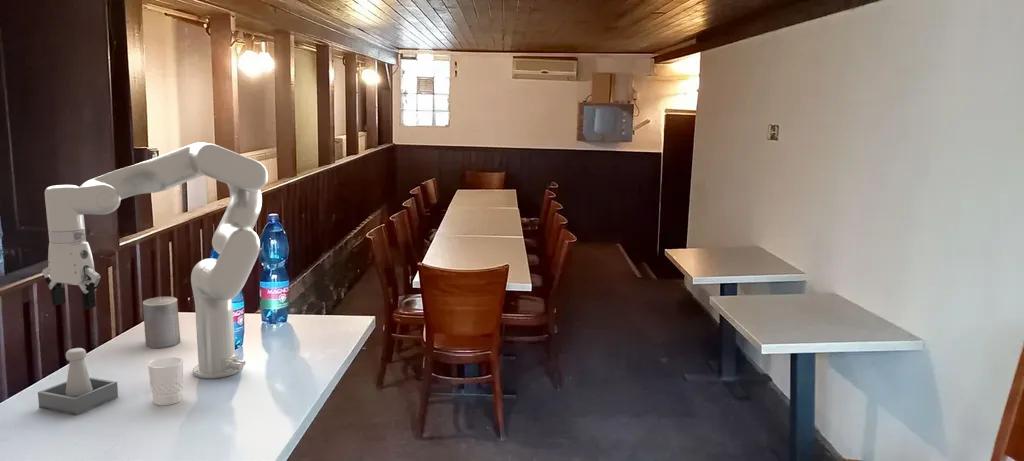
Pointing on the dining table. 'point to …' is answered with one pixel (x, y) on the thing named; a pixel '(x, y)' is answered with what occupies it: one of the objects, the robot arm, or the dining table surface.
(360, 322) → the dining table surface
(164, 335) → the pillar candle
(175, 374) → the white cup
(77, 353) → the salt shaker
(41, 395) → the box
